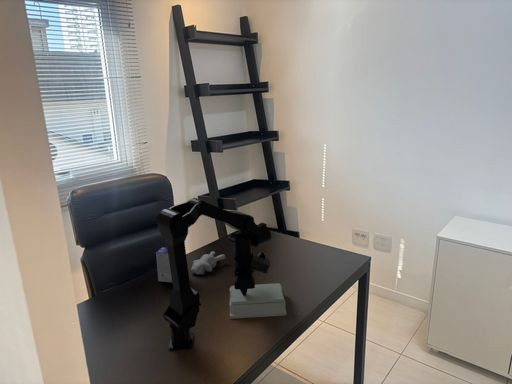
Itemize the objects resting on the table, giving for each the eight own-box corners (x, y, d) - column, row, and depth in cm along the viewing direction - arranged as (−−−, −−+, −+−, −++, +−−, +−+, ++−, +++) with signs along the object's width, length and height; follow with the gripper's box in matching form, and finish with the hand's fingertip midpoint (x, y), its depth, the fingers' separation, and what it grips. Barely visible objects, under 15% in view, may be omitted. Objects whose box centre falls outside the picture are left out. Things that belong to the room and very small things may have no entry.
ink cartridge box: (187, 276, 146) (185, 242, 142) (182, 283, 140) (179, 248, 137) (164, 274, 148) (160, 240, 144) (158, 281, 142) (154, 246, 139)
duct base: (286, 315, 119) (286, 305, 118) (230, 318, 118) (229, 309, 117) (280, 289, 135) (279, 280, 134) (230, 292, 134) (229, 283, 133)
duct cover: (283, 301, 120) (283, 298, 120) (231, 304, 119) (231, 301, 119) (279, 285, 130) (279, 283, 130) (231, 288, 129) (230, 285, 129)
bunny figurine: (184, 263, 148) (209, 246, 159) (186, 274, 150) (211, 256, 161) (202, 269, 143) (227, 251, 154) (204, 280, 145) (228, 262, 156)
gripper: (271, 262, 110) (271, 309, 114) (265, 238, 128) (266, 279, 132) (233, 264, 110) (235, 311, 114) (233, 240, 128) (234, 281, 132)
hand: (244, 294), depth 123 cm, fingers closed
